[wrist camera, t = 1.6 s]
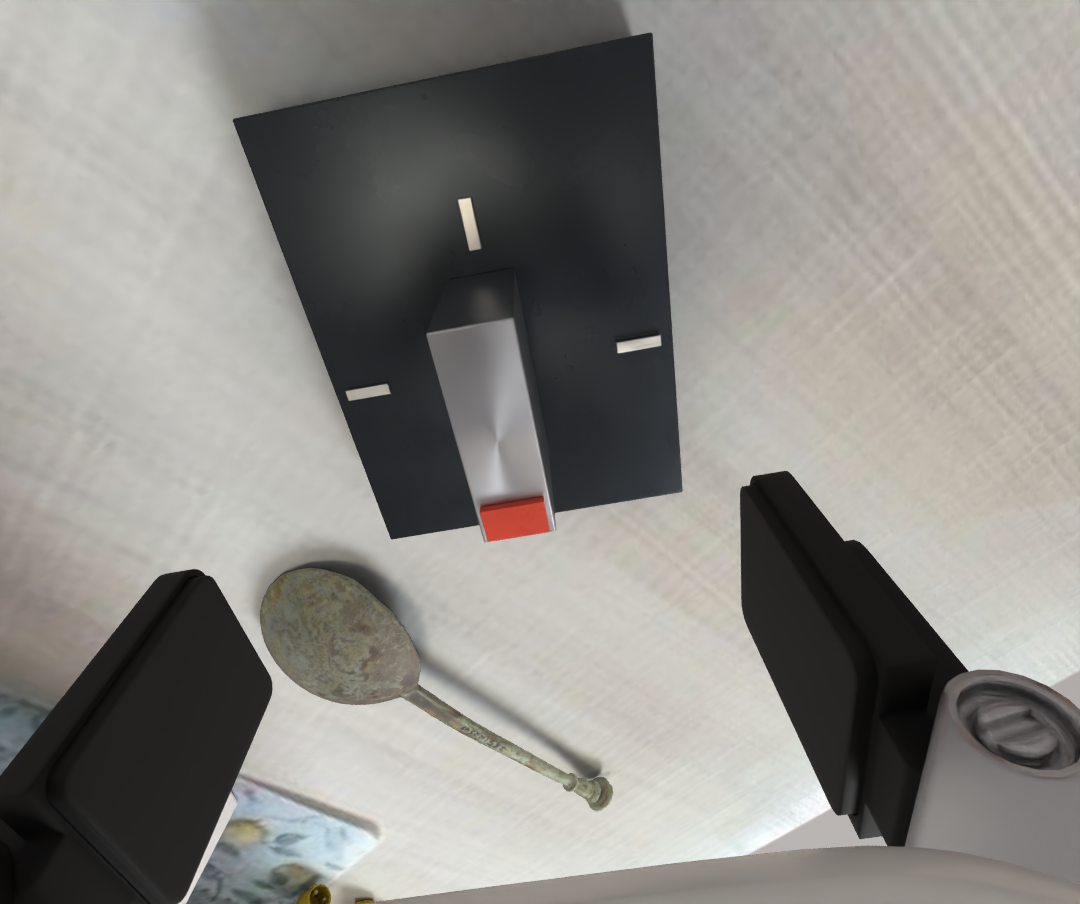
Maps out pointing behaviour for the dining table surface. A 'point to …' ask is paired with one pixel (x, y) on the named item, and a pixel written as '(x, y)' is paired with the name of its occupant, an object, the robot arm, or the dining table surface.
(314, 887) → the extension cord
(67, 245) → the dining table surface
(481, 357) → the tap handle
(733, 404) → the dining table surface
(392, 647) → the soupspoon
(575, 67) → the plate
